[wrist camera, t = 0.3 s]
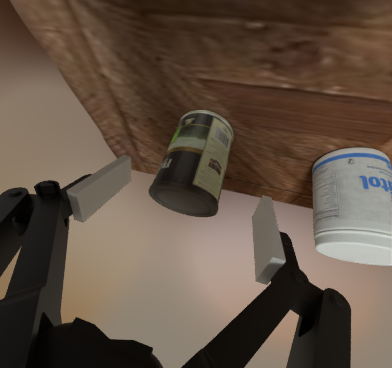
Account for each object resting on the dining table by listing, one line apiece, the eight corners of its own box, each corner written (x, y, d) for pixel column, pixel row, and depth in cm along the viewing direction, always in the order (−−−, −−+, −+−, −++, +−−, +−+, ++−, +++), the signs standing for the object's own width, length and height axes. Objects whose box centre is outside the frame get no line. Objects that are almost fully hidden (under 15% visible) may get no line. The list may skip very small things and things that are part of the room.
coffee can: (173, 138, 35) (145, 201, 29) (187, 98, 26) (151, 176, 20) (218, 159, 37) (202, 222, 31) (246, 127, 28) (231, 207, 22)
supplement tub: (409, 152, 24) (451, 264, 18) (353, 184, 33) (367, 268, 26) (335, 138, 25) (348, 238, 19) (300, 172, 34) (300, 250, 27)
